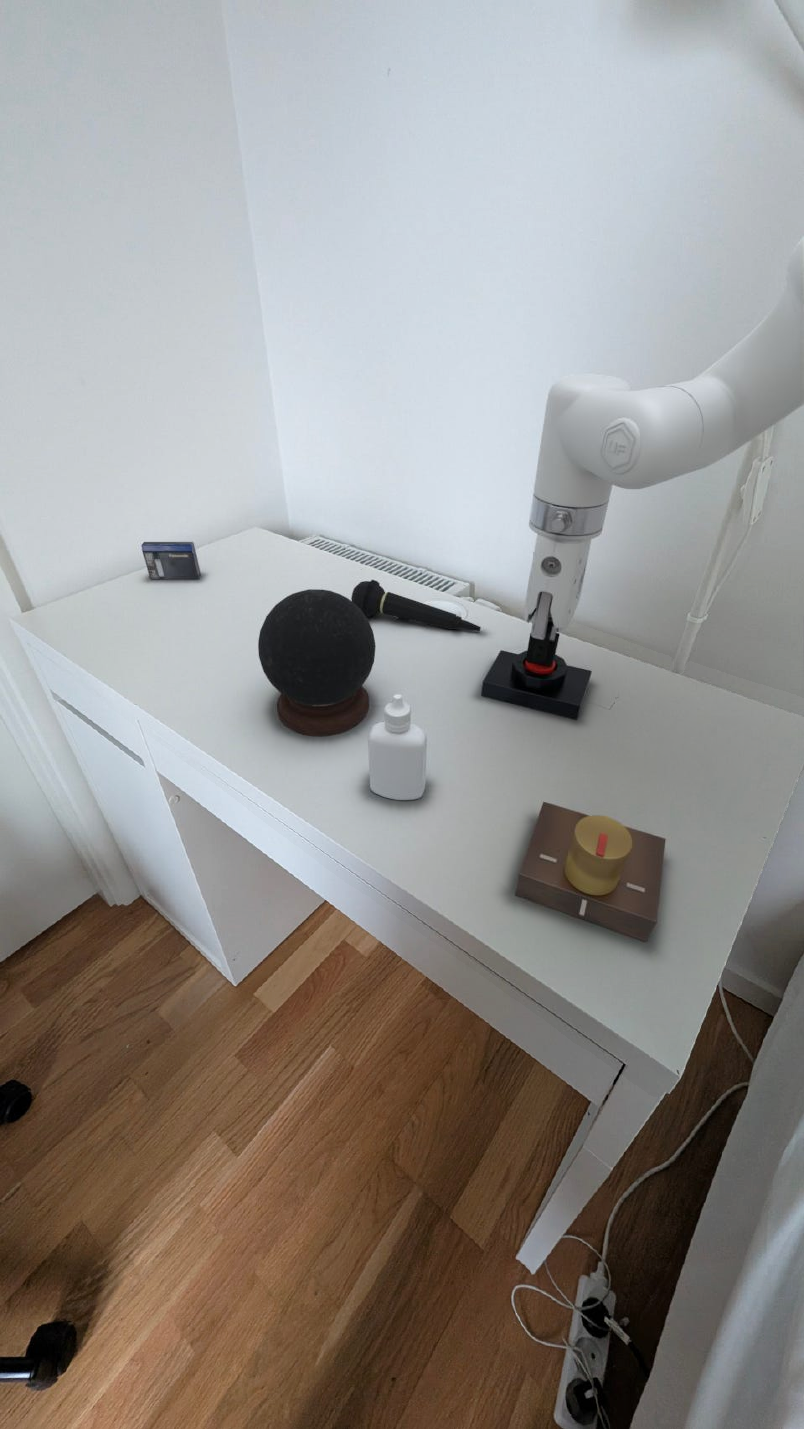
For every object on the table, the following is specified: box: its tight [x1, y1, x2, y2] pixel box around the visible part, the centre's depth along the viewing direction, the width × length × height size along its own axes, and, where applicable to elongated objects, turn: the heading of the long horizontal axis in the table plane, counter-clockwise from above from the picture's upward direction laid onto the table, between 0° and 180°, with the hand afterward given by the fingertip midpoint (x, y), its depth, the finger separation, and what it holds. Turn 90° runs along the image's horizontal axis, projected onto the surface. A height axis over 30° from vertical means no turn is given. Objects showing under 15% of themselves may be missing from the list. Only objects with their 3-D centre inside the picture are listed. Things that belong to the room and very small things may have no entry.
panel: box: [514, 801, 667, 943], centre depth 50 cm, size 11×11×3 cm
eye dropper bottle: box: [367, 694, 428, 801], centre depth 56 cm, size 4×6×12 cm
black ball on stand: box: [257, 588, 376, 737], centre depth 66 cm, size 13×13×15 cm
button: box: [525, 661, 555, 674], centre depth 72 cm, size 4×4×2 cm
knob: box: [564, 814, 632, 895], centre depth 47 cm, size 4×4×5 cm
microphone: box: [350, 579, 482, 632], centre depth 86 cm, size 6×6×20 cm
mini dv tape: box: [140, 541, 202, 580], centre depth 97 cm, size 8×2×6 cm, turn 90°
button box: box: [480, 649, 593, 721], centre depth 73 cm, size 12×8×4 cm, turn 66°
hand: (539, 661), depth 71 cm, fingers closed
